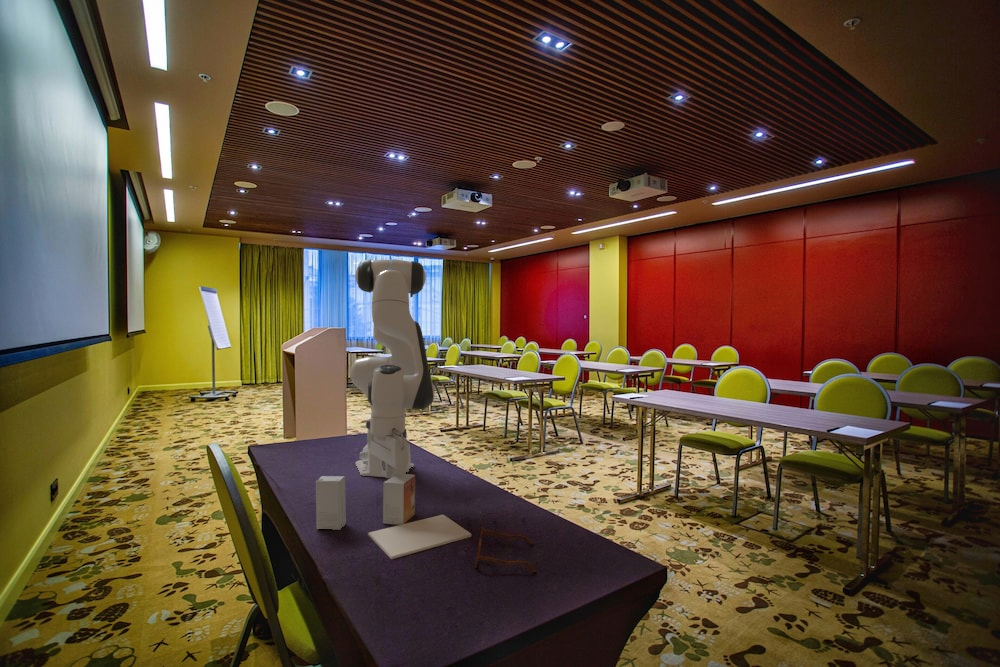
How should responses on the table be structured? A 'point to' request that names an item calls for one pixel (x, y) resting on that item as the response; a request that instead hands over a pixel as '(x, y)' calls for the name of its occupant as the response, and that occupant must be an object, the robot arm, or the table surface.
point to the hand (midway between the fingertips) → (387, 476)
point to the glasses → (499, 559)
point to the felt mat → (418, 536)
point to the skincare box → (330, 502)
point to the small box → (398, 499)
